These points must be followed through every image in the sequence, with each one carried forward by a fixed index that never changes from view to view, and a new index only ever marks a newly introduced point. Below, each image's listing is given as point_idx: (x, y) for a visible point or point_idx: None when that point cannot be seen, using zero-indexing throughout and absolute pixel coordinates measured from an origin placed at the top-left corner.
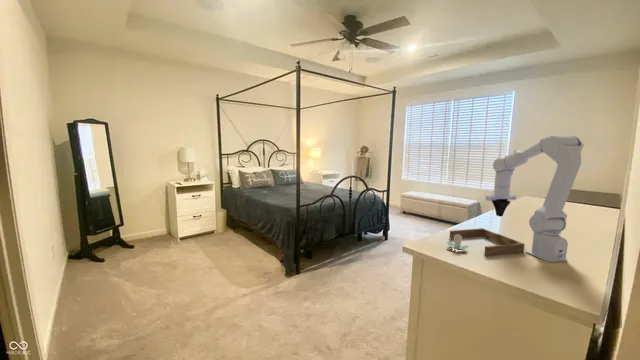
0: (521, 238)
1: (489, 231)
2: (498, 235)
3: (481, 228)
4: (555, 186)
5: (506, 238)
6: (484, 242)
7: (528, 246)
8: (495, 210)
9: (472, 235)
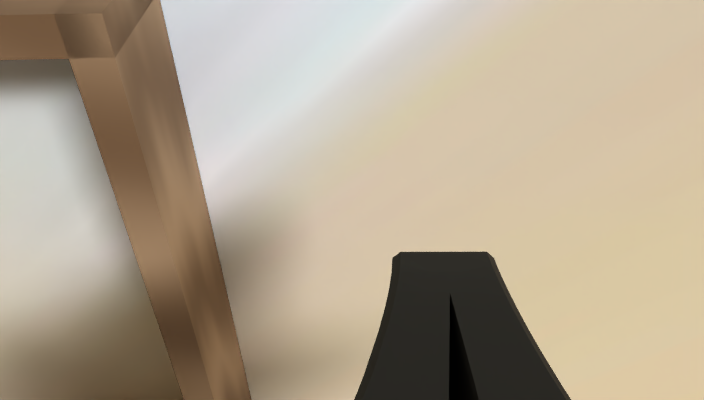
0: (682, 169)
1: (121, 192)
2: (159, 314)
3: (65, 27)
4: None
5: (183, 392)
6: (23, 193)
7: None
8: (367, 367)
9: None
